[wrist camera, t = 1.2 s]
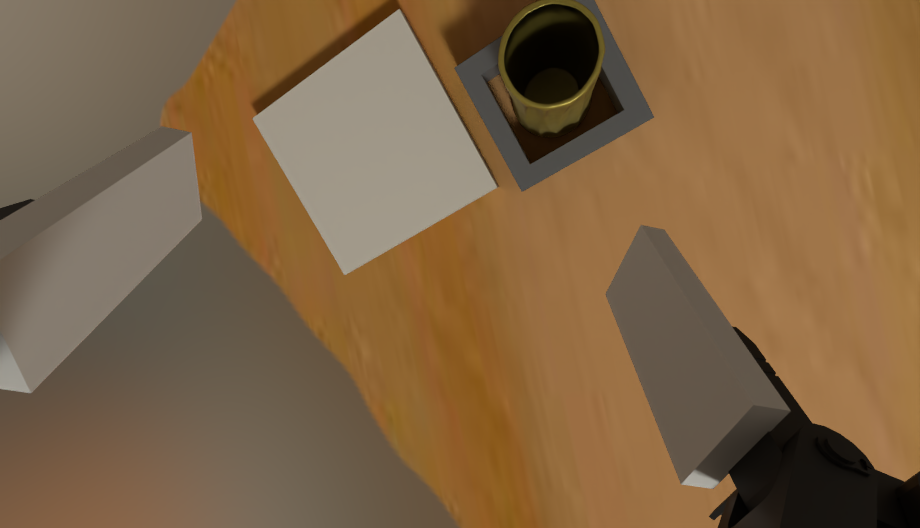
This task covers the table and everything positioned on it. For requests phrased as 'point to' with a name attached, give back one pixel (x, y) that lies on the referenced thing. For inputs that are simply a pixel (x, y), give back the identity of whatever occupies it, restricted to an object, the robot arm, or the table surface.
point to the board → (375, 145)
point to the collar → (526, 174)
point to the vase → (551, 64)
